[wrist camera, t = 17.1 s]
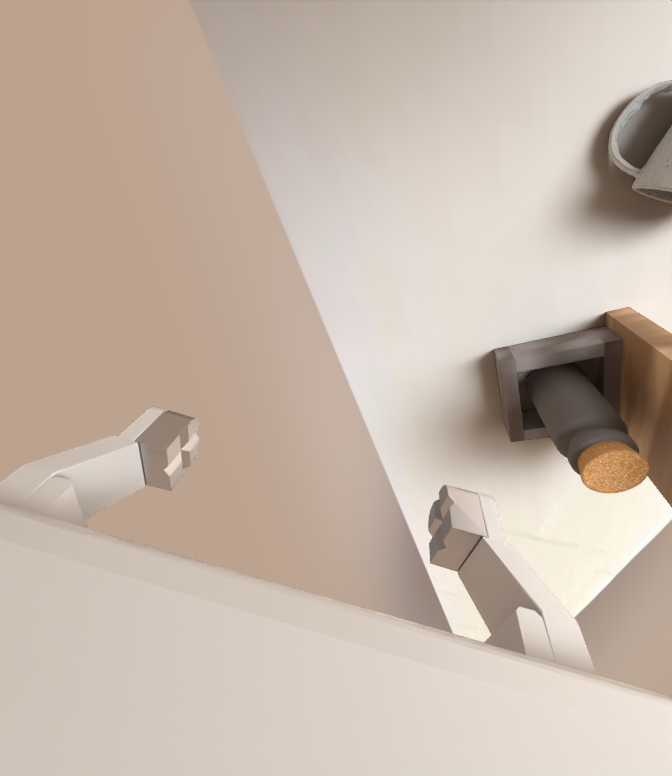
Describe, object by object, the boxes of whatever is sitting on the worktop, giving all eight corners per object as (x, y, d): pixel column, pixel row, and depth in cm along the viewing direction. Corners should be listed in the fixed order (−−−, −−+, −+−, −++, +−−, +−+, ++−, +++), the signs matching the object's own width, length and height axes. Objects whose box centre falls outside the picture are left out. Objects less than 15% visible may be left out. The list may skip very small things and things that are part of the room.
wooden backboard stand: (629, 307, 36) (822, 429, 19) (623, 416, 42) (765, 581, 25) (492, 337, 40) (550, 460, 23) (505, 433, 46) (559, 584, 29)
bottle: (539, 353, 40) (598, 438, 27) (592, 365, 39) (676, 457, 27) (516, 395, 43) (560, 488, 30) (565, 406, 43) (629, 505, 30)
